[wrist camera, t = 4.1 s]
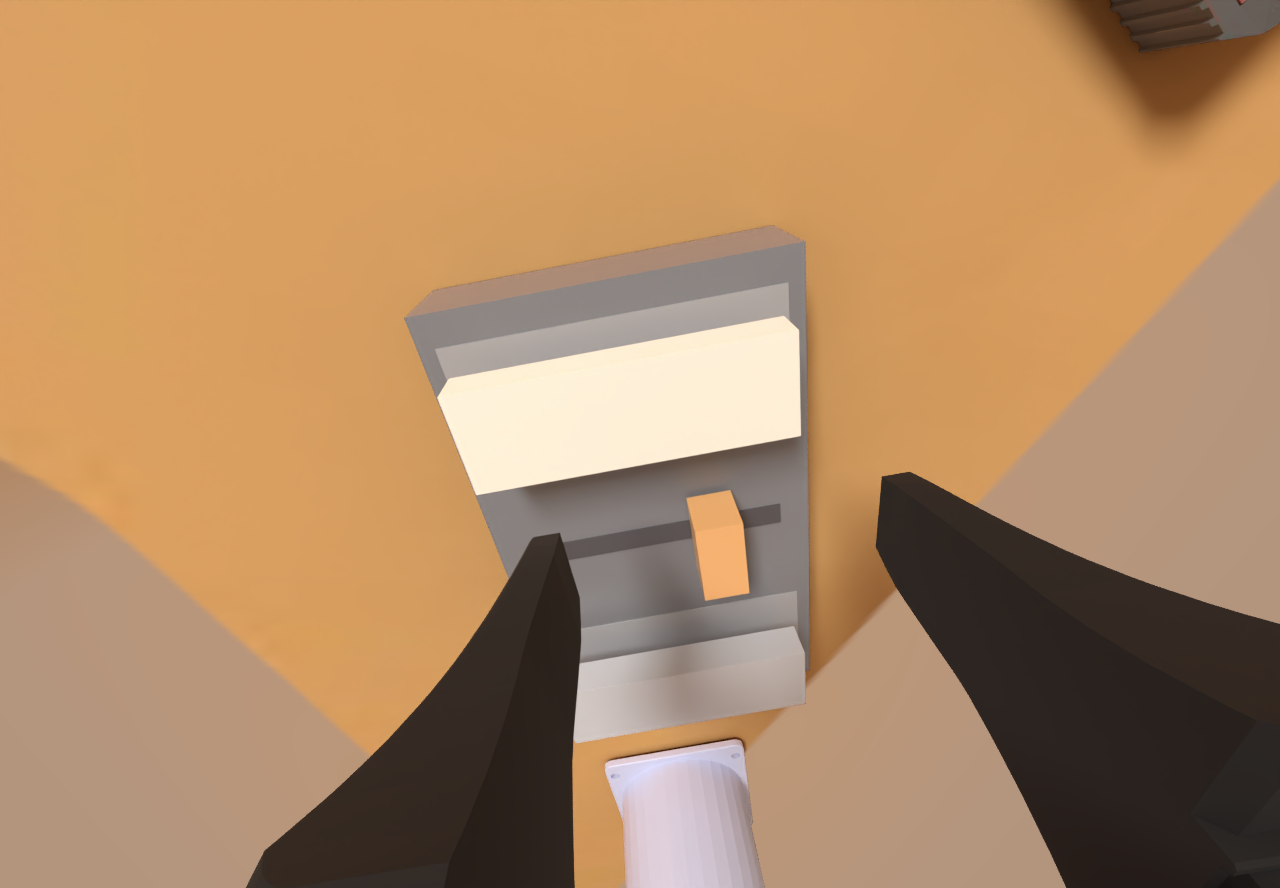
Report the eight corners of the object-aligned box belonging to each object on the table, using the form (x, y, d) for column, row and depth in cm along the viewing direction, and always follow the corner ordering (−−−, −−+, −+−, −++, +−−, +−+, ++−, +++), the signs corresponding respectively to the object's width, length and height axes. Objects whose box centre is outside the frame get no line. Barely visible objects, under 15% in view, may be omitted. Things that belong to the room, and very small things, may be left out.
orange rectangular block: (737, 556, 19) (749, 592, 18) (696, 563, 19) (705, 600, 18) (730, 490, 18) (743, 523, 16) (686, 498, 18) (694, 532, 16)
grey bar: (795, 676, 22) (805, 703, 20) (576, 714, 22) (575, 743, 21) (794, 626, 20) (804, 652, 19) (558, 667, 20) (556, 695, 19)
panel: (788, 616, 26) (810, 671, 23) (566, 655, 26) (562, 714, 23) (773, 225, 17) (805, 241, 14) (433, 290, 17) (403, 318, 14)
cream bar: (787, 416, 15) (801, 436, 14) (484, 471, 16) (476, 495, 15) (783, 315, 14) (799, 330, 13) (448, 378, 14) (437, 398, 13)
